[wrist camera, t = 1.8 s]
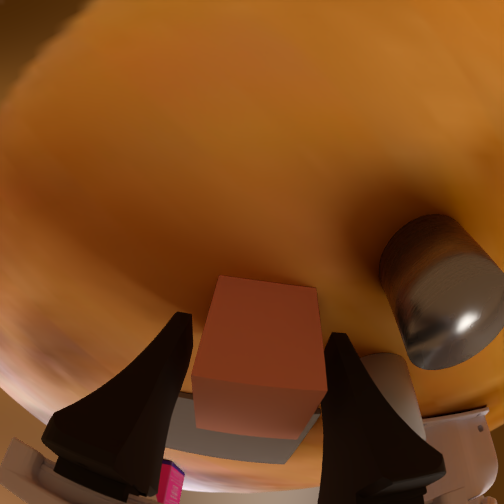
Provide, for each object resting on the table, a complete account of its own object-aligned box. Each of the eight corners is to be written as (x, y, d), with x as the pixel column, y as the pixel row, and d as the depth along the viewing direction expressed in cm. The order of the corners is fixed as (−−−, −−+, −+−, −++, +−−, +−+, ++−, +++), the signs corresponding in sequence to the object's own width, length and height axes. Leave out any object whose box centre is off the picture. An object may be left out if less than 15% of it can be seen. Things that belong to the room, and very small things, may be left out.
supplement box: (147, 465, 31) (130, 532, 21) (130, 451, 28) (108, 526, 18) (186, 473, 30) (172, 544, 21) (173, 460, 27) (155, 542, 18)
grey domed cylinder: (419, 353, 14) (442, 428, 10) (387, 395, 16) (399, 461, 12) (349, 351, 14) (363, 438, 10) (325, 394, 16) (329, 467, 12)
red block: (315, 287, 12) (327, 391, 8) (296, 349, 14) (296, 439, 10) (219, 274, 12) (191, 374, 8) (216, 338, 14) (196, 428, 10)
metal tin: (480, 225, 10) (531, 280, 6) (442, 304, 12) (473, 367, 9) (398, 203, 10) (447, 265, 6) (364, 297, 12) (385, 370, 9)
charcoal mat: (320, 409, 17) (320, 414, 17) (284, 460, 24) (284, 464, 23) (140, 382, 17) (139, 387, 17) (163, 443, 24) (162, 446, 23)
